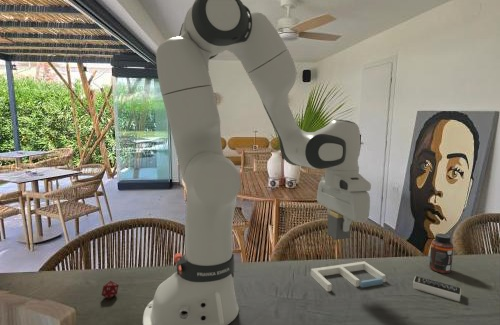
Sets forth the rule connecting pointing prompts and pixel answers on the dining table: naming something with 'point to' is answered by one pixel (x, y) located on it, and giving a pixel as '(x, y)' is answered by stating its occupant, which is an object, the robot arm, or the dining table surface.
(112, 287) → the dice
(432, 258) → the supplement bottle
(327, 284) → the white e-shaped frame
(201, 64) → the robot arm
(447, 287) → the multiport hub
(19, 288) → the dining table surface
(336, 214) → the grey tan-topped block
